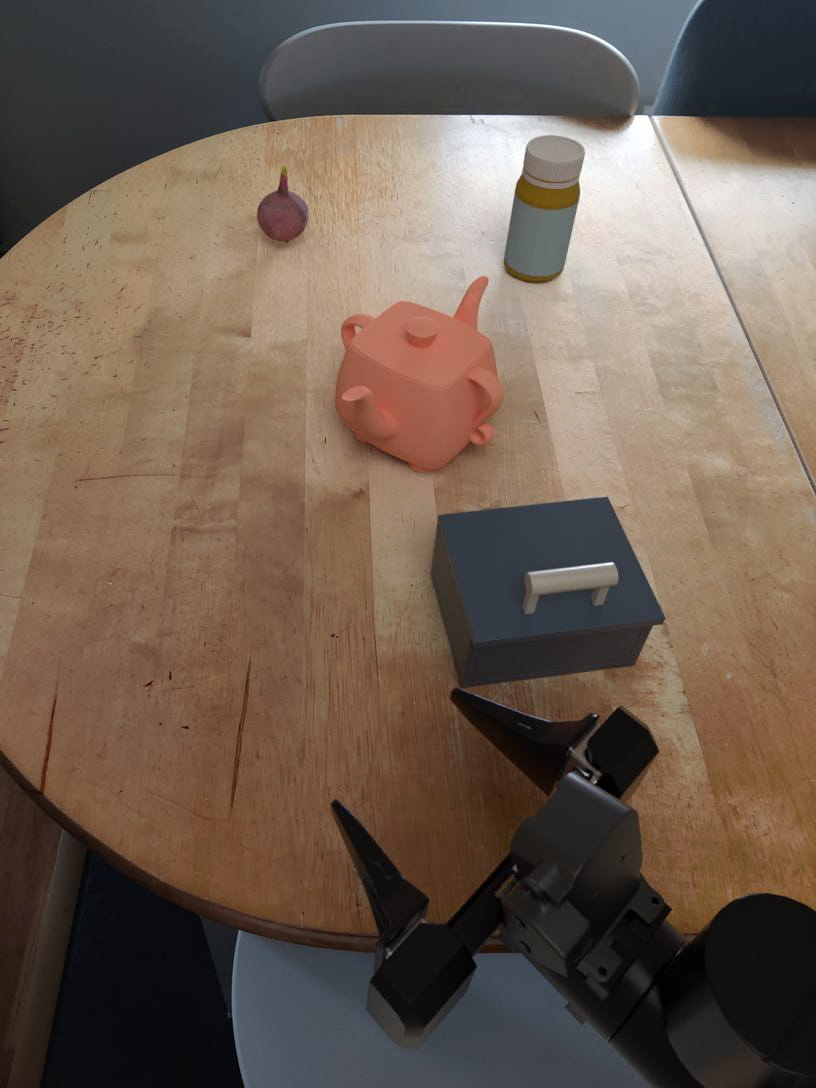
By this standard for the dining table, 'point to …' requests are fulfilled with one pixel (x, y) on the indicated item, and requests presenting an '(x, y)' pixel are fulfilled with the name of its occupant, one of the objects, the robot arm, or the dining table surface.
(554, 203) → the bottle
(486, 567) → the lid
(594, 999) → the robot arm
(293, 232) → the vegetable
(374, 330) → the teapot
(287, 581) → the dining table surface
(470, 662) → the box
